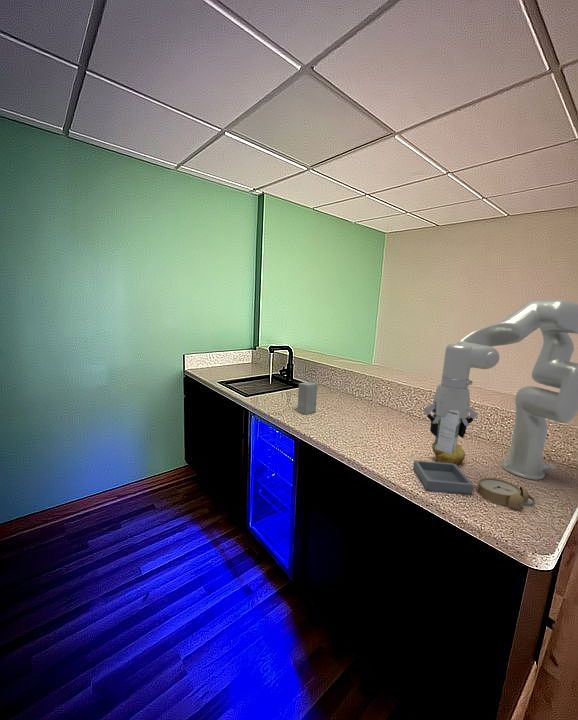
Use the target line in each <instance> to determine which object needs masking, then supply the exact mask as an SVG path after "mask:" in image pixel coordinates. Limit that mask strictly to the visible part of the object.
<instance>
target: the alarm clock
mask: <svg viewBox="0 0 578 720" xmlns="http://www.w3.org/2000/svg"><path fill="white" fill-rule="evenodd" d="M477 483H478V484H477V486H474V487H473V489H477V492H478V494H479V495H480V496H481V497H482V498H484V499H485V500H487V501H490V502H491V503H495V504H498V505H503V506H508V507H509V508H511V509H513V510H520V509H522V508H523V507H529V508H530V507H534V506H535V505H536V499H535V498H534V497H533V496H531V495H530V493H529V491H528V490H527V488H525V487H523V486H519V487H518V486H517V485H516V484H513V483H512V482H510V481H507V480H503V479H501V478H495V477H494V478H493V477H483V478H480V479H479V480H478V481H477ZM529 500H530V501H532V502H528V501H529Z"/></svg>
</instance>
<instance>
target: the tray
mask: <svg viewBox="0 0 578 720" xmlns="http://www.w3.org/2000/svg"><path fill="white" fill-rule="evenodd" d="M412 469H413V471H414V473H415V475H416V477H417V478H418V479H419V482H420V483H421V485H422V487H423V489H424V490H425V491H426V492H431V493H441V494H453V495H462V496H473V492H474V487H475V486H474V484H473V482H472V481H471V480H470V479H469V478H468V477H467V476H466V474H464V472H463V471H462V470H461V469H460V468H459V467H458V465H456V464H453V463H442V462H438V461H429V460H428V461H427V460H416V459H414V460H413V468H412Z"/></svg>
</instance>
